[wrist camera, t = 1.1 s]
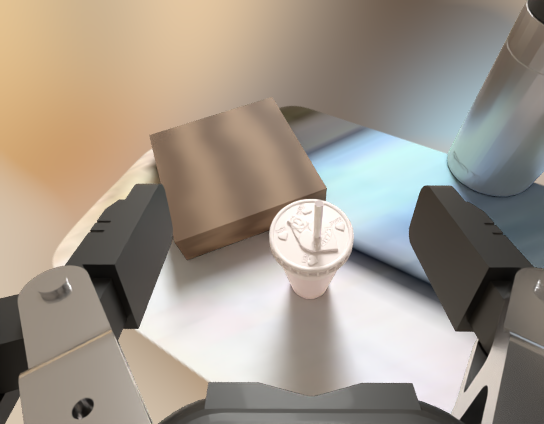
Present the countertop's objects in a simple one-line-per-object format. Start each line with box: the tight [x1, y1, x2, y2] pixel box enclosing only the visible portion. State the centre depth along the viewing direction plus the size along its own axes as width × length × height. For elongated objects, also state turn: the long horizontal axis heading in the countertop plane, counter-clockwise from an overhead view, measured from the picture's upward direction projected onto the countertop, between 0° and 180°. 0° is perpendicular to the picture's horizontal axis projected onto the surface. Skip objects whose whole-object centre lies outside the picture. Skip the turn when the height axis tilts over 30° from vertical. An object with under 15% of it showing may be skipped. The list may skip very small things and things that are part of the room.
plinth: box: [150, 97, 327, 260], centre depth 39 cm, size 16×16×4 cm
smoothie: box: [269, 199, 354, 299], centre depth 27 cm, size 6×6×14 cm
